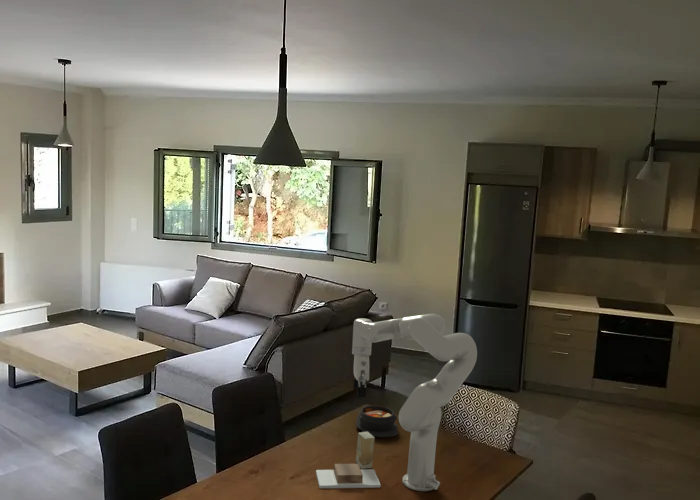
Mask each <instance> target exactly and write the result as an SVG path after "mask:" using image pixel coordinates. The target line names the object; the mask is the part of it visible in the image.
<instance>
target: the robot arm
mask: <svg viewBox="0 0 700 500" xmlns="http://www.w3.org/2000/svg"><path fill="white" fill-rule="evenodd" d="M445 329H446V321H445V319H444V318H443V317H442V316H441V315H439V314H436V313H427V314H420V315H418V314H417V315H411V316H404V317H402V318H401V317H400V318H396V319H395V318H394V319H386V320H381V321H374V322H373V321H372V320H371V319H369V318H363V317H361V318H359V317H358V318H356V319H354V321H353V327H352V345H351V347H352V349H351V354H352V355H353V358H354V359H353V378H354V379H353V385H352V386H353V387H352V388H353V389H354V390H357V395H356V396H357V398H365V397H366V394H367V382H369V380H370V356H371V355H372V345H373V344H372V343H379V342H384V341H389V340H393V339H401V338H402V339H404V340H406V341H412V340H414V341H415V342H416V343H417V344H419V346H421V347H422V348H423V349H424V350H425V351H426V352H427V353H428V354H430V355H431V357H433V358H435V360H438V361H440V362H447V363H446V364H444V365H443V367H442V368H441V370H440V371H439V373H438V374H437V375H436V376H435V377H434V378H433V379H431V380H428V381H425V382H423V383H420V384H419V385H418V386H416V387H415V388H414V389H413V390H412V392H411V393H410V394H409V396H408V398H407V399H406V401H404V402H403V403H404V404H402V406H401V408H400V409H399V412H398V422H399V423H398V424H399V425H400V427H401V429H403V430H404V431H406V432H409V433H410V436H409V437H410V438H409V448H408V449H409V451H408V460H407V461H408V462H407V472H406V474H404V475H403V476H402V480H401V481H402V484H403V485H404V486H405V487H407V488H408V489H410V490H413V491H417V492H429V491H433V490H438V488H439V486H440V485H441V481H439V480H437V479H436V477H437V476H436V474H435V473H434V472H435V460H436V448H437V441H438V431H439V427H440V423H441V420H442V408H441V407H443V406H446V405H447V404H449V403H450V402H451V401H452V399H453V397H454V396H455V395H456V393H457V392H458V390H459V389H460V388H461V386H462V385H463V383H464V382H465V381H466V379H467V377H469V375H470V373H472V371H473V369H474V367H475V365H476V362H477V360H478V359H477V358H478V348H477V345H476V342H475V340H474V339H473V337H472V336H471V335H470V334H468V333H464V332H455V333H451V334H446V335H443V333H444V332H445Z"/></svg>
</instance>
